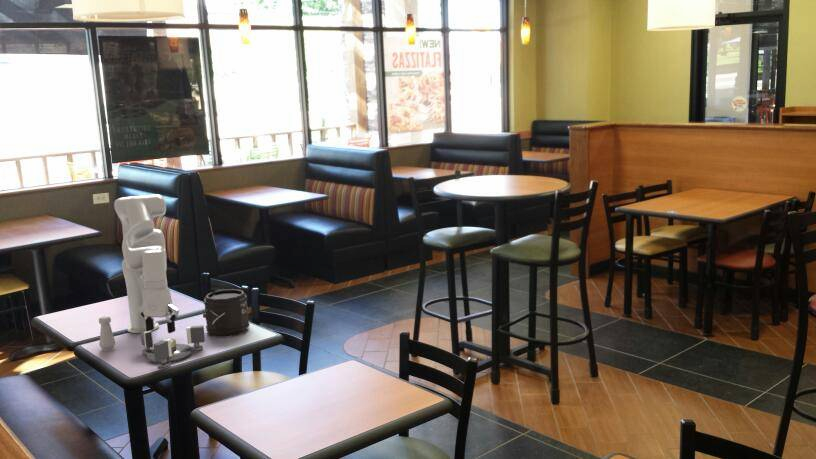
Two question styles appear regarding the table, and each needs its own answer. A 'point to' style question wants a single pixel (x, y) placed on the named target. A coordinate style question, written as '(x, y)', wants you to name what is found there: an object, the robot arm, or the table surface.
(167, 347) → the knob front
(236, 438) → the table surface
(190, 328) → the knob near left
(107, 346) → the salt shaker
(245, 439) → the table surface
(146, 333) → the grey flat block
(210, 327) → the wooden barrel
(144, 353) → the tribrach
